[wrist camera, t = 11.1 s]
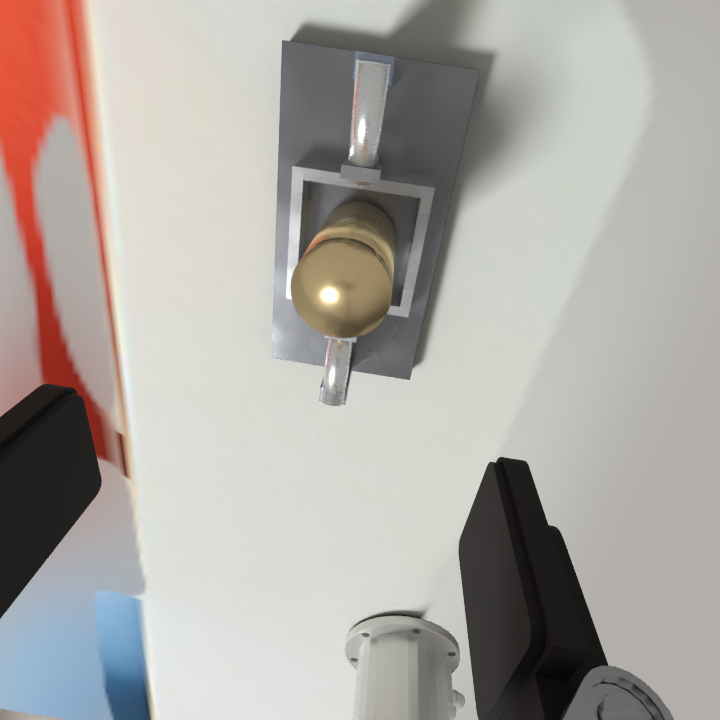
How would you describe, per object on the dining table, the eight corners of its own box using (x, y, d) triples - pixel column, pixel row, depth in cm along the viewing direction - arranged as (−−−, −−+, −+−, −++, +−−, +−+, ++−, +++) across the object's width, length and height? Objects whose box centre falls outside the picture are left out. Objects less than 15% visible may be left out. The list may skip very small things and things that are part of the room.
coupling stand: (476, 71, 22) (498, 64, 17) (409, 370, 32) (410, 427, 26) (288, 42, 23) (250, 26, 17) (276, 349, 32) (249, 401, 26)
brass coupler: (389, 281, 27) (383, 345, 20) (318, 270, 27) (288, 330, 20) (402, 207, 25) (399, 251, 18) (324, 196, 25) (293, 234, 18)
